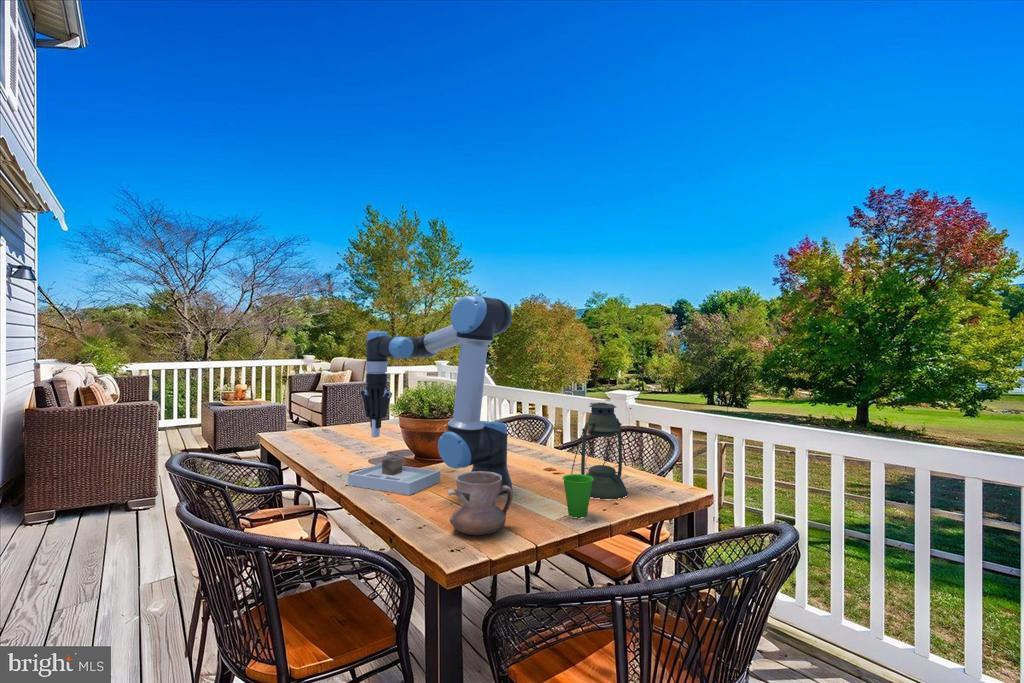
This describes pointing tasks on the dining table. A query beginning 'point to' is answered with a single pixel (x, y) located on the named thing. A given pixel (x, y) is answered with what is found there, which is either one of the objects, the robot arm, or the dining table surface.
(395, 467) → the walnut block
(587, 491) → the cup
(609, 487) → the lantern
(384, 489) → the box
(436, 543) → the dining table surface
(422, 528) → the dining table surface
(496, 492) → the ceramic jug
